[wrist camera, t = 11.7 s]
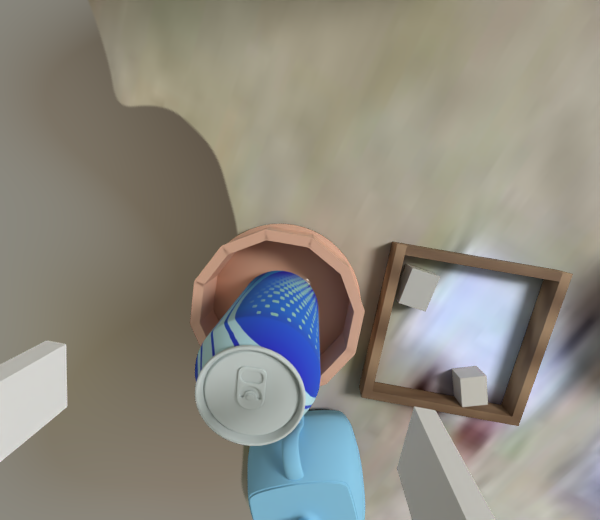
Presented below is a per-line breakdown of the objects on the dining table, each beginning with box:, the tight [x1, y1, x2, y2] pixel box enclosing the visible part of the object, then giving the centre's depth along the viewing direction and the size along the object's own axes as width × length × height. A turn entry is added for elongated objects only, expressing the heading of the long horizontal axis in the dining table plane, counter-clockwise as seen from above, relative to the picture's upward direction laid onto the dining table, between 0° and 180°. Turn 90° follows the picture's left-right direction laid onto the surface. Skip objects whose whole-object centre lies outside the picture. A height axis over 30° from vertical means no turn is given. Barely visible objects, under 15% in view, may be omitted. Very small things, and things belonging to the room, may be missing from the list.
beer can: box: [195, 271, 321, 446], centre depth 25 cm, size 8×8×16 cm
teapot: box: [248, 410, 365, 520], centre depth 32 cm, size 12×18×12 cm
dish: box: [190, 224, 365, 386], centre depth 31 cm, size 18×18×5 cm
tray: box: [359, 242, 573, 426], centre depth 32 cm, size 18×18×2 cm
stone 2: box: [452, 366, 488, 407], centre depth 33 cm, size 4×3×2 cm
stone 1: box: [395, 264, 440, 311], centre depth 31 cm, size 4×3×2 cm
